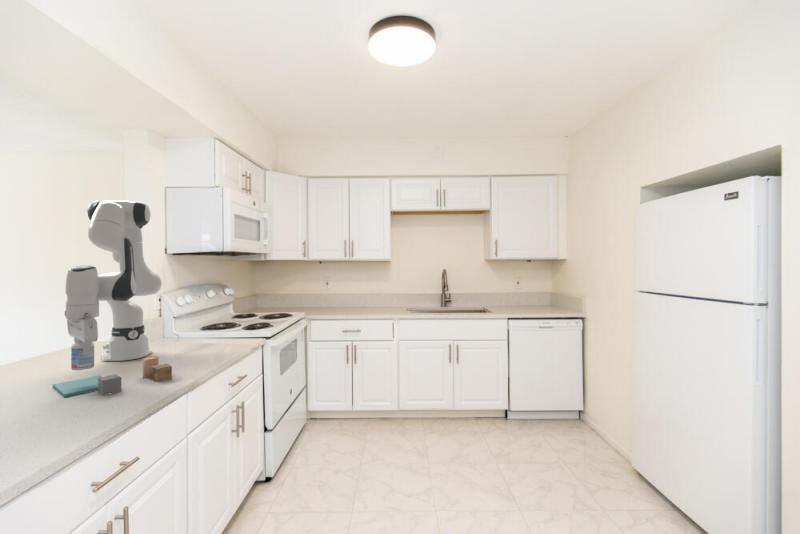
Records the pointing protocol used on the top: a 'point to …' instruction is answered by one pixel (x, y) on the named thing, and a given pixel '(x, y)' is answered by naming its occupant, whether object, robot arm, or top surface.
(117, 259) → the robot arm
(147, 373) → the peach capsule cylinder
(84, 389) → the teal board
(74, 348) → the pill bottle
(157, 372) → the walnut block
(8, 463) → the top surface
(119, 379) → the charcoal block
